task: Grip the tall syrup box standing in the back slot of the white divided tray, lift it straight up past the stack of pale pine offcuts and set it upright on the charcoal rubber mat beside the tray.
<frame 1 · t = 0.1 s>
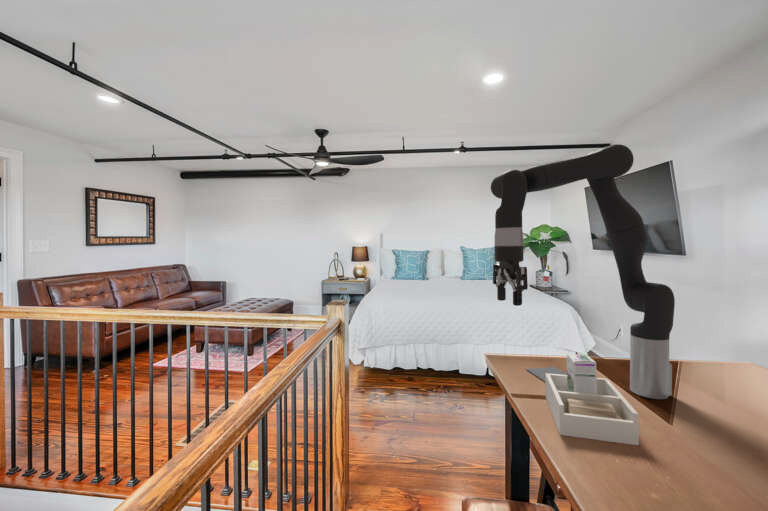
hand: (509, 302, 94), 29 cm above the table, tool pointing down, fingers open, 8 cm apart
white divided tray: (581, 410, 92), on the table
offcut stack: (592, 429, 83), resting in white divided tray
syrup box: (581, 411, 92), resting in white divided tray
rubber mat: (550, 374, 117), on the table
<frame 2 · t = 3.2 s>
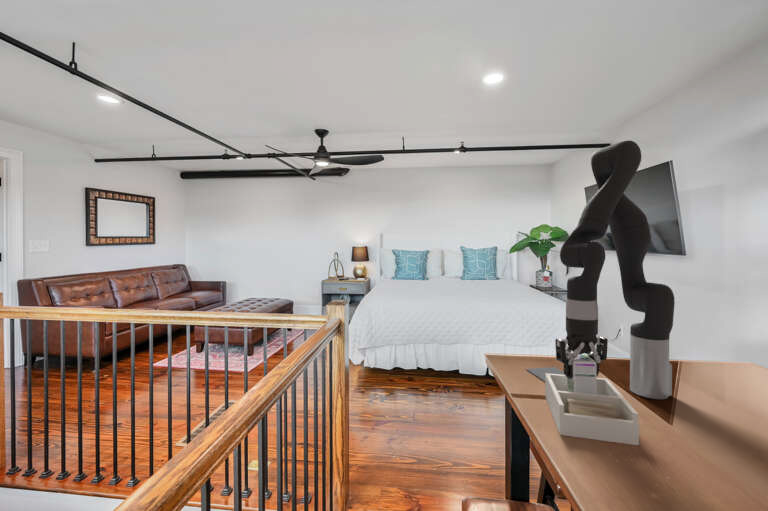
hand: (581, 376, 92), 9 cm above the table, tool pointing down, fingers closed on syrup box, 7 cm apart
syrup box: (581, 410, 92), resting in white divided tray, touching gripper
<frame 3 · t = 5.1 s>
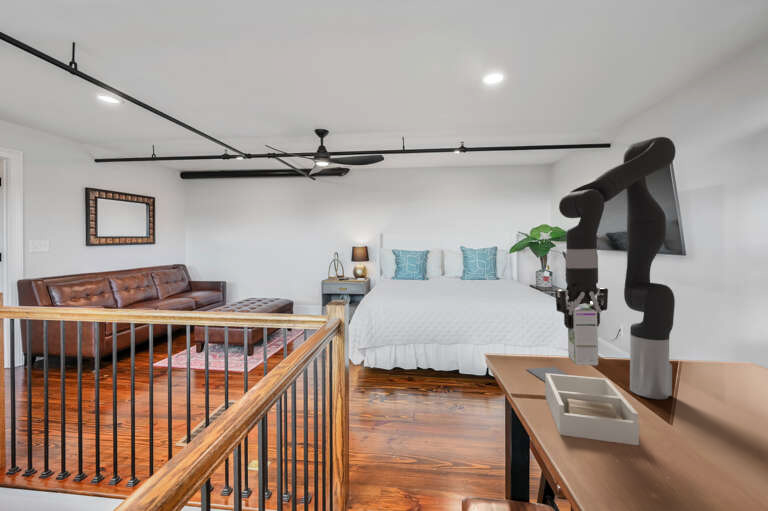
hand: (581, 327, 91), 23 cm above the table, tool pointing down, fingers closed on syrup box, 7 cm apart
syrup box: (582, 362, 92), point 13 cm above the table, touching gripper
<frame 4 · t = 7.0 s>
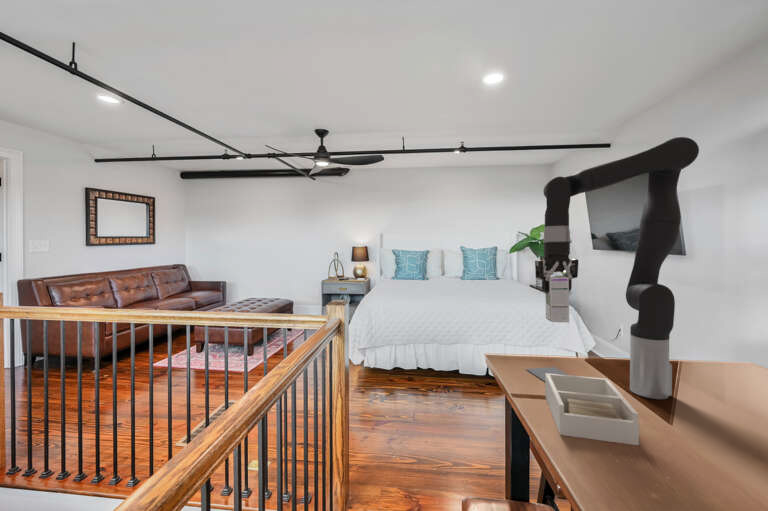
hand: (556, 291, 110), 30 cm above the table, tool pointing down, fingers closed on syrup box, 7 cm apart
syrup box: (557, 321, 110), point 20 cm above the table, touching gripper
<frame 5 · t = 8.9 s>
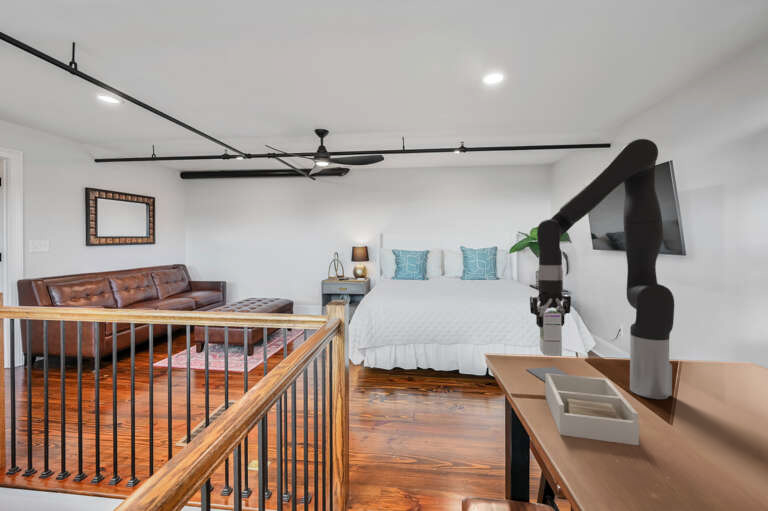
hand: (550, 326, 116), 17 cm above the table, tool pointing down, fingers closed on syrup box, 7 cm apart
syrup box: (550, 353, 117), point 7 cm above the table, touching gripper
when the fingers open (11 cm above the table, at t = 10.7 s): syrup box drops 1 cm, resting on rubber mat.
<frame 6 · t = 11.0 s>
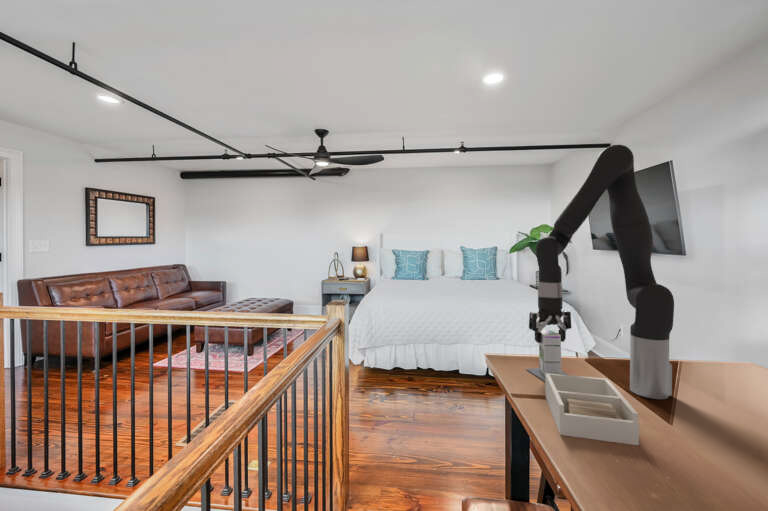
hand: (550, 341, 116), 12 cm above the table, tool pointing down, fingers open, 8 cm apart
syrup box: (549, 374, 117), resting on rubber mat
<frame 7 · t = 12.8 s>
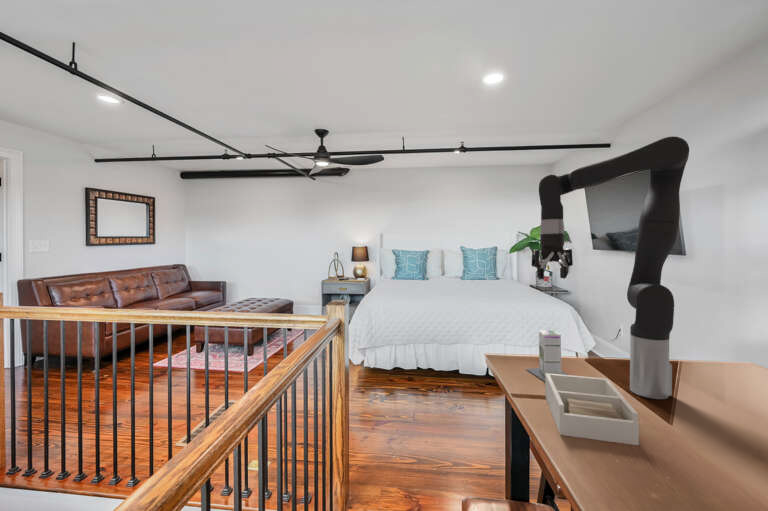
hand: (552, 278, 120), 33 cm above the table, tool pointing down, fingers open, 8 cm apart
nothing on the table moved.
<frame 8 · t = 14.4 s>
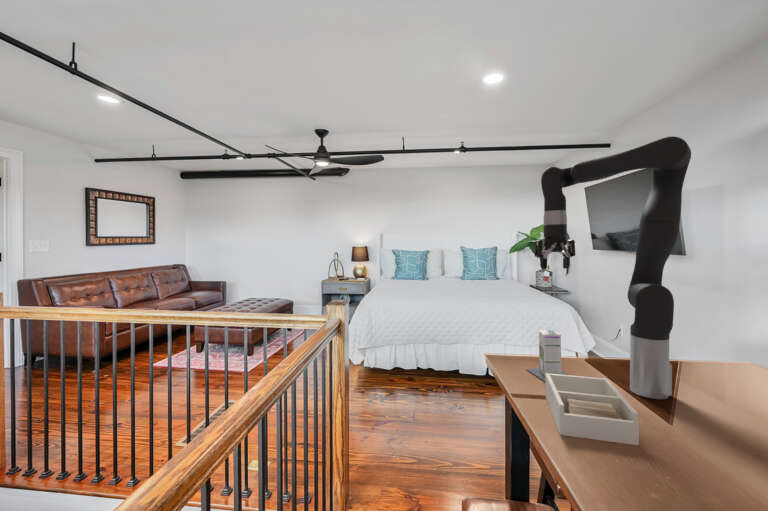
hand: (555, 268, 122), 36 cm above the table, tool pointing down, fingers open, 8 cm apart
nothing on the table moved.
at the end: syrup box inside the target area (0.1 cm from its centre), resting on rubber mat; syrup box tilted 0°; the gripper is holding nothing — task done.
